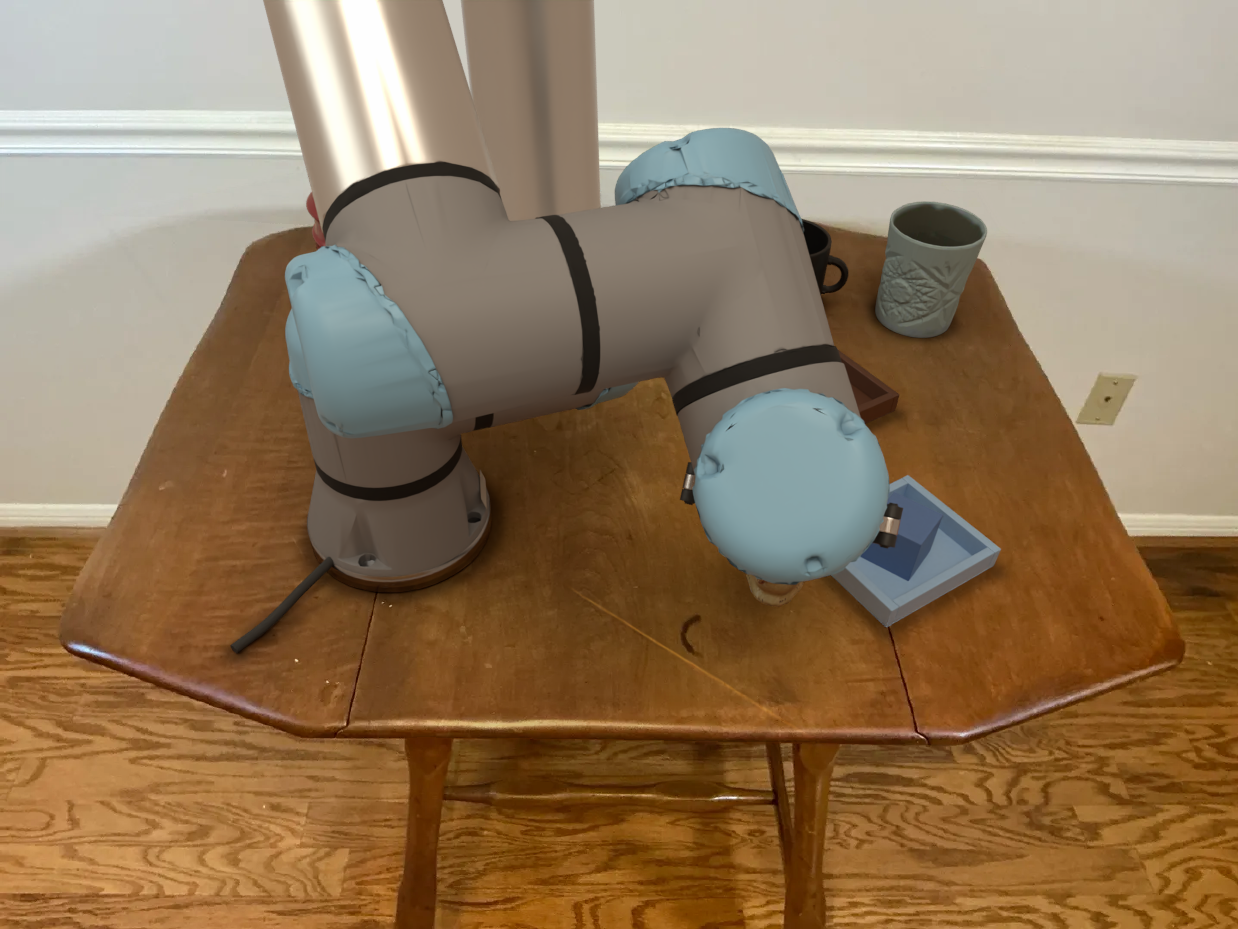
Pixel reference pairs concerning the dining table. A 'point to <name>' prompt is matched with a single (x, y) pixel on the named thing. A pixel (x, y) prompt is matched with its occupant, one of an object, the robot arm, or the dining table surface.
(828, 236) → the mug
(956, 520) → the blue tray
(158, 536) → the dining table surface
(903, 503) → the slate-blue block
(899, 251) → the drinking glass
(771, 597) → the chocolate bunny
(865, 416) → the brown tray
